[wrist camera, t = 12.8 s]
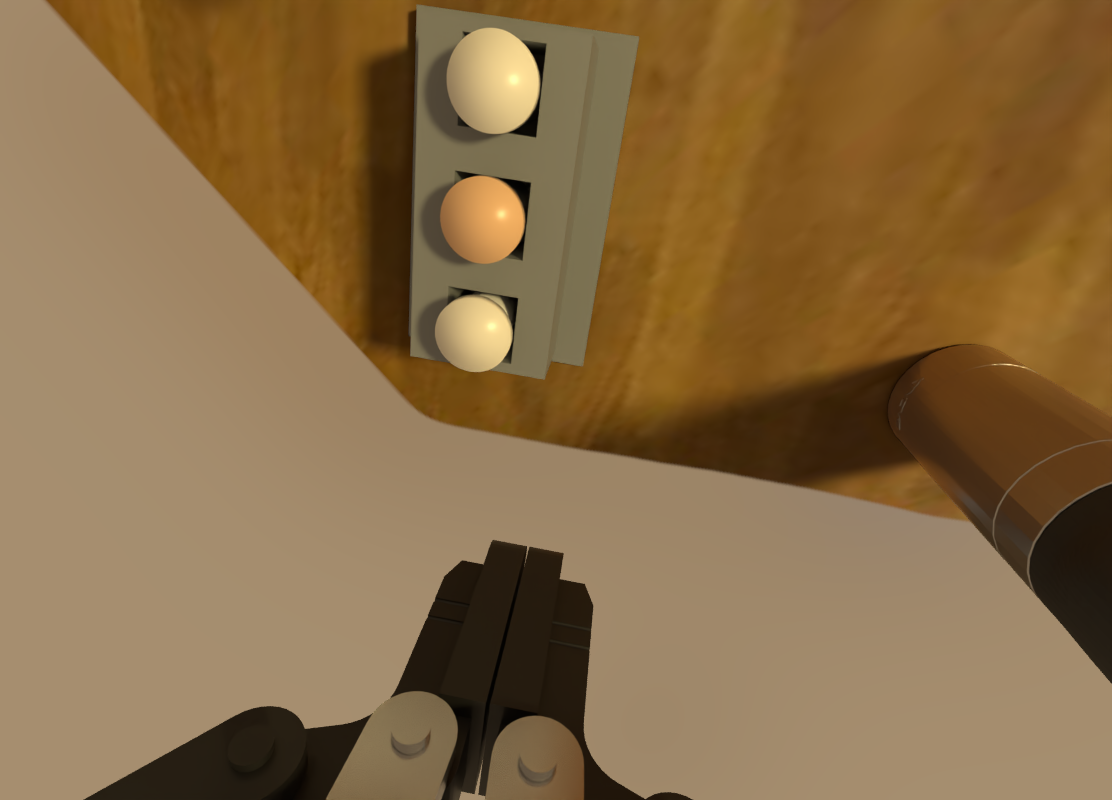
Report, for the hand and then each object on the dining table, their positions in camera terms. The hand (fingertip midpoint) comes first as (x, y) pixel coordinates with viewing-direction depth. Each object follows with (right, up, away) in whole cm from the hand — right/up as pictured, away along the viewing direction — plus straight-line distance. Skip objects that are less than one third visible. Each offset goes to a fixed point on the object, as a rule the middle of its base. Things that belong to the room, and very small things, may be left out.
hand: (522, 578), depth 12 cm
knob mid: (-3, +17, +28) cm, 33 cm away
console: (-2, +18, +29) cm, 34 cm away
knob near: (-2, +24, +25) cm, 34 cm away
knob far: (-4, +11, +31) cm, 33 cm away
